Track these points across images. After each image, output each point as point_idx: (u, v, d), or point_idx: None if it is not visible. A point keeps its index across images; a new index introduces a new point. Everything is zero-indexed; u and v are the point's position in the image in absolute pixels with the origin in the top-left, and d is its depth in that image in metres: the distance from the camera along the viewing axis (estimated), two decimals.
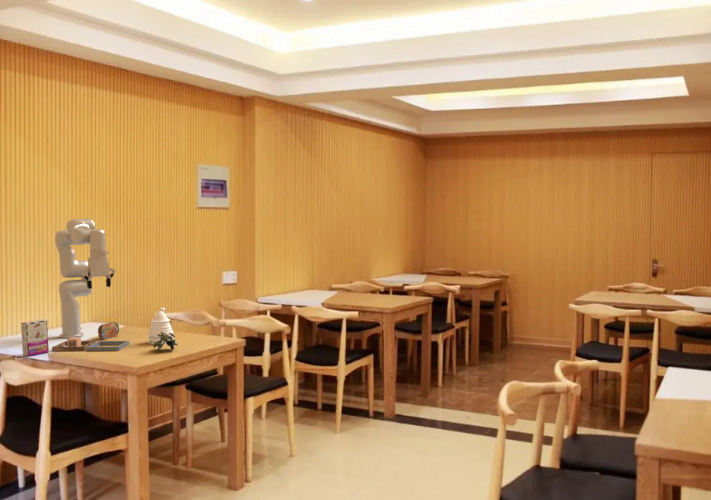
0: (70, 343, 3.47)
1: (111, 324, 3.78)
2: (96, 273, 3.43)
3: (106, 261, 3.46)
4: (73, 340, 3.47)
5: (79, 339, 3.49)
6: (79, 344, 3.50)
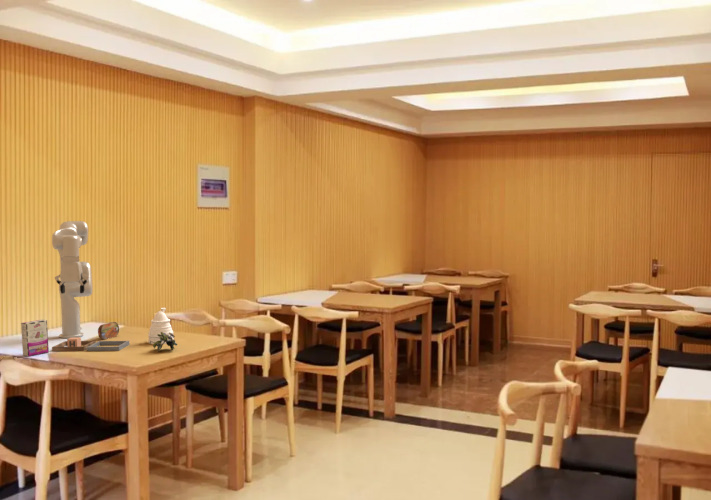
0: (70, 343, 3.47)
1: (111, 324, 3.78)
2: None
3: None
4: (73, 340, 3.47)
5: (79, 339, 3.49)
6: (79, 344, 3.50)
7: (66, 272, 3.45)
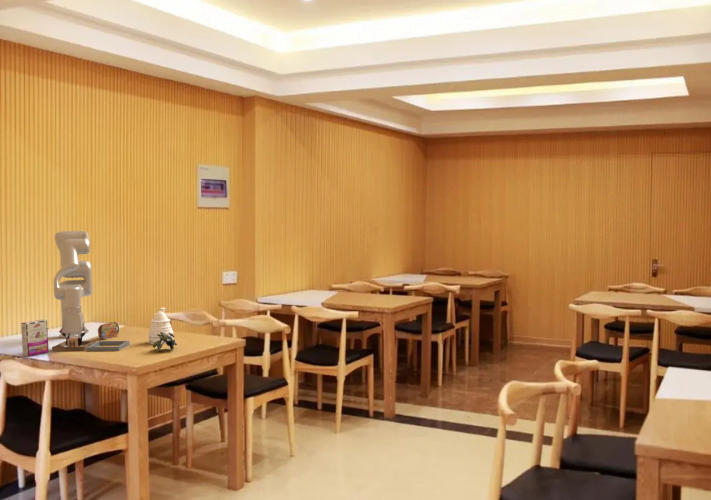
0: (71, 343, 3.47)
1: (111, 324, 3.78)
2: None
3: None
4: (73, 340, 3.47)
5: None
6: None
7: (68, 323, 3.46)
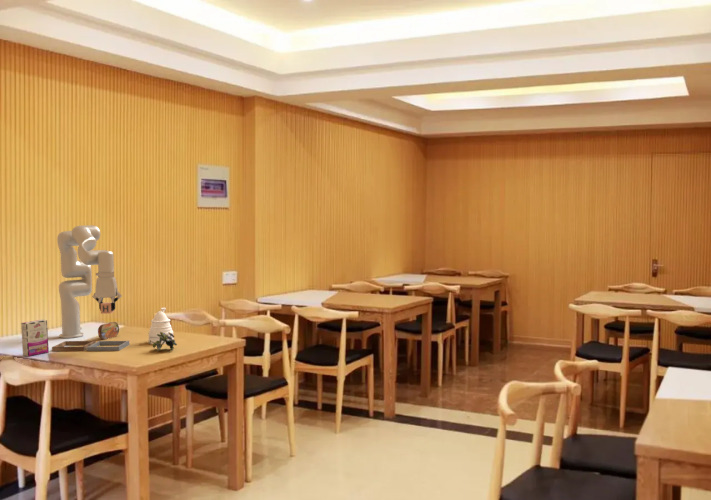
0: (104, 308, 3.45)
1: (111, 324, 3.78)
2: None
3: None
4: (106, 304, 3.45)
5: None
6: None
7: (101, 287, 3.44)
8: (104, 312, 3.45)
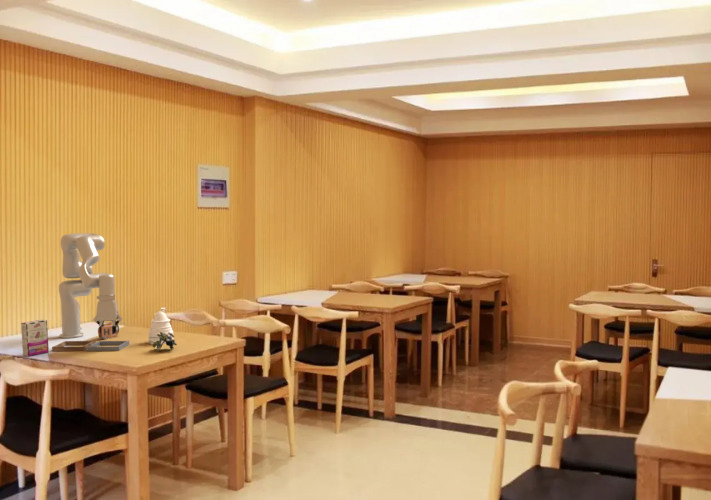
0: (105, 331, 3.45)
1: (111, 324, 3.78)
2: None
3: None
4: (107, 328, 3.45)
5: None
6: None
7: (102, 311, 3.45)
8: (105, 335, 3.46)
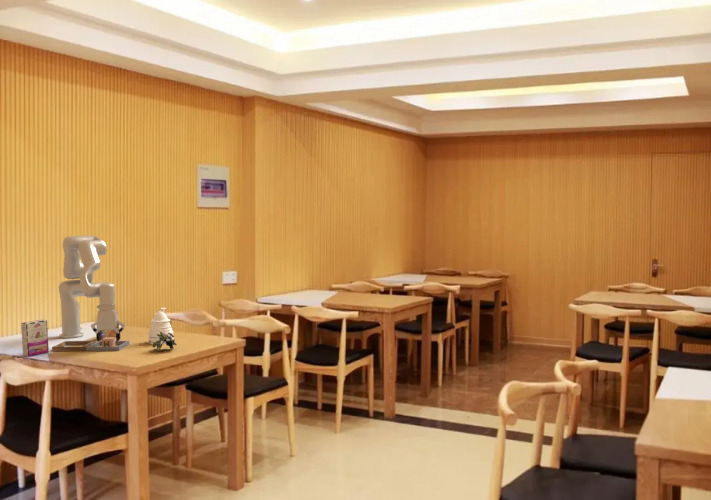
0: (105, 343, 3.46)
1: None
2: None
3: None
4: (107, 340, 3.46)
5: (113, 339, 3.48)
6: (113, 344, 3.49)
7: (102, 320, 3.45)
8: None
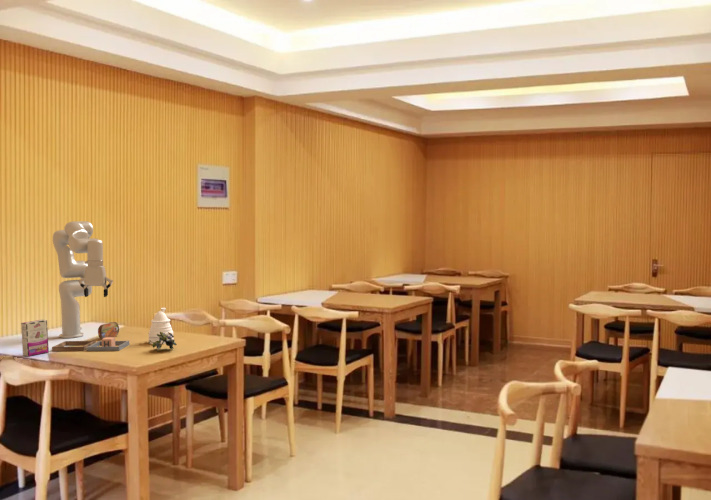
0: (105, 343, 3.46)
1: (111, 324, 3.78)
2: None
3: None
4: (107, 340, 3.46)
5: (113, 339, 3.48)
6: (113, 344, 3.49)
7: (90, 276, 3.47)
8: None
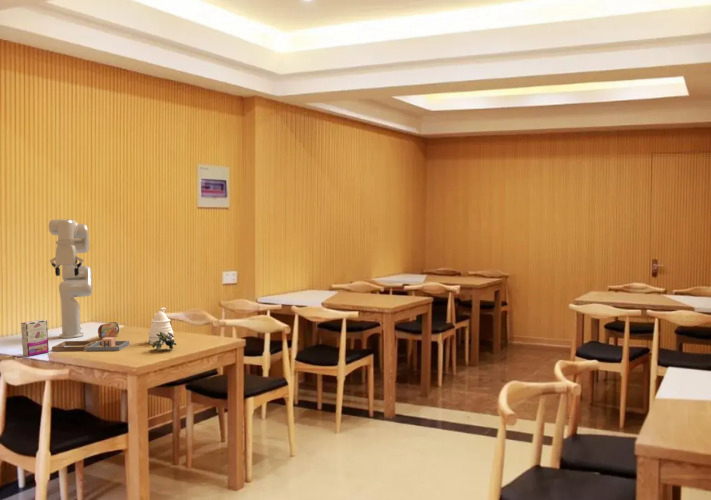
0: (105, 343, 3.46)
1: (111, 324, 3.78)
2: None
3: None
4: (107, 340, 3.46)
5: (113, 339, 3.49)
6: (113, 344, 3.49)
7: (61, 255, 3.55)
8: None
